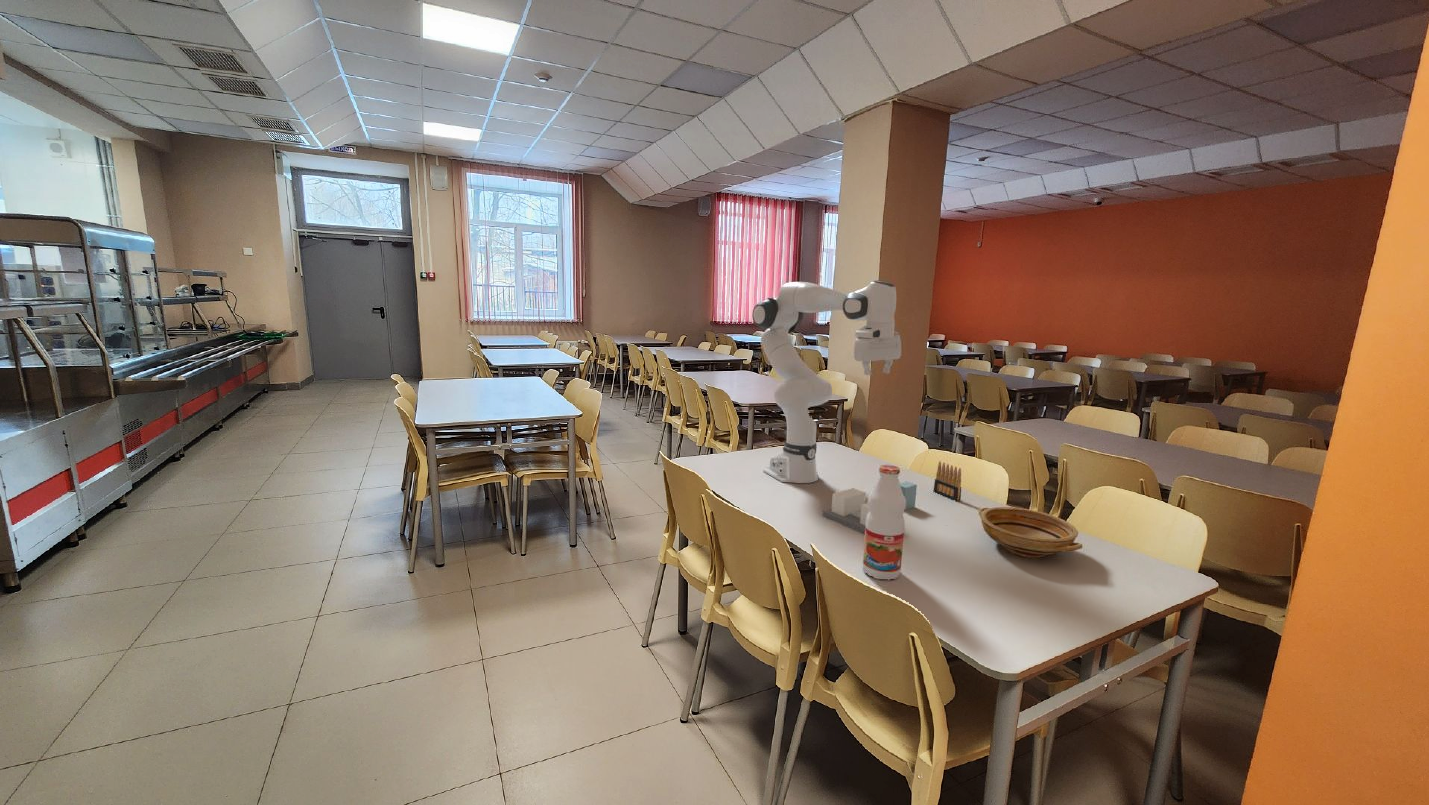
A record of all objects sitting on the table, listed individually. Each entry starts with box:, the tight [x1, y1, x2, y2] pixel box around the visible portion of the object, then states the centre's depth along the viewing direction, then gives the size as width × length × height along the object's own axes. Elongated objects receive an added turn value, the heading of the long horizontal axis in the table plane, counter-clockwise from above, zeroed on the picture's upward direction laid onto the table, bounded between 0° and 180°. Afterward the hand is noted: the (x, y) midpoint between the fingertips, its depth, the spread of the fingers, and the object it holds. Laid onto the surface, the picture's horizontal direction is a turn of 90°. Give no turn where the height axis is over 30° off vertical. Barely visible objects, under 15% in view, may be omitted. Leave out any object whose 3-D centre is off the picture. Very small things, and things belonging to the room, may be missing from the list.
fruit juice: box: [862, 464, 906, 581], centre depth 141 cm, size 9×9×28 cm
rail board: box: [822, 487, 869, 534], centre depth 177 cm, size 20×14×8 cm
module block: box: [899, 481, 918, 511], centre depth 189 cm, size 4×6×8 cm, turn 126°
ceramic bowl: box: [978, 506, 1083, 558], centre depth 159 cm, size 30×24×8 cm
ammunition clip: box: [933, 460, 962, 503], centre depth 200 cm, size 11×2×12 cm, turn 25°
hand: (877, 373), depth 186 cm, fingers open, 8 cm apart
